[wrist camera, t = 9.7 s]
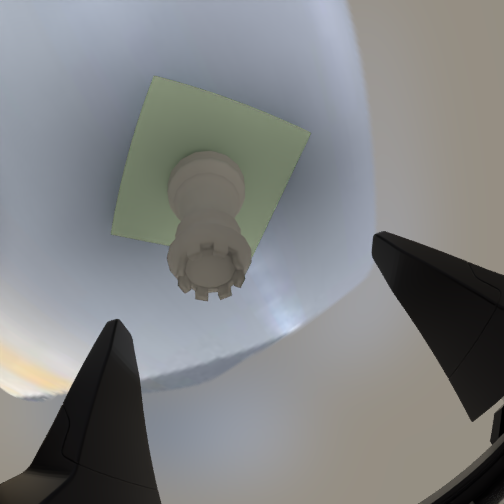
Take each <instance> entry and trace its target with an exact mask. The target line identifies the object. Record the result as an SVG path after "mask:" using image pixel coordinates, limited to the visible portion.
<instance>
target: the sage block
mask: <svg viewBox="0 0 504 504" xmlns="http://www.w3.org/2000/svg"><path fill="white" fill-rule="evenodd" d="M310 134H311V133H310V132H308V131H306V130H304V129H302V128H300V127H298V126H295V125H293V124H291V123H289V122H287V121H284V120H282V119H280V118H277V117H275V116H273V115H270V114H268V113H265V112H263V111H261V110H258V109H256V108H253V107H251V106H248V105H245V104H243V103H240V102H237V101H235V100H232V99H229V98H226V97H223V96H221V95H218V94H215V93H212V92H209V91H206V90H203V89H199V88H196V87H193V86H190V85H186V84H183V83H180V82H176V81H172V80H169V79H165V78H161V77H157V76H154V77H153V79H152V82H151V85H150V87H149V90H148V93H147V95H146V98H145V101H144V104H143V107H142V110H141V113H140V116H139V119H138V122H137V125H136V128H135V132H134V135H133V138H132V142H131V145H130V149H129V153H128V156H127V160H126V164H125V168H124V172H123V176H122V180H121V184H120V189H119V193H118V198H117V203H116V208H115V213H114V218H113V224H112V230H111V235H116V236H121V237H126V238H131V239H136V240H141V241H146V242H151V243H157V244H162V245H167V246H170V244H171V243H172V242H173V241H174V240H175V239H176V238H175V234H176V230H177V227H178V224H179V223H180V222H181V221H180V220H179V219H178V218H177V217H176V215H175V214H174V212H173V211H172V209H171V208H170V205H169V200H168V194H167V190H168V181H169V178H170V174H171V171H172V170H173V169H174V167H175V166H176V165H177V164H178V163H179V161H180V160H181V159H183V158H185V157H187V156H189V155H191V154H193V153H195V152H203V151H214V152H217V153H221V154H224V155H227V156H228V157H229V158H230V159H232V160H233V161H234V162H235V163H236V164H238V166H239V168H240V170H241V172H242V174H243V176H244V183H245V200H244V202H243V205H242V207H241V209H240V212H239V213H238V214H237V215H236V217H235V218H234V219H235V220H236V222H237V223H238V225H239V227H240V229H241V235H242V236H244V237H245V239H246V241H247V242H248V244H249V246H250V248H251V258H252V256H253V254H254V252H255V250H256V248H257V246H258V244H259V242H260V240H261V238H262V235H263V233H264V231H265V229H266V227H267V225H268V223H269V221H270V219H271V217H272V214H273V212H274V210H275V208H276V206H277V204H278V202H279V200H280V198H281V196H282V193H283V191H284V189H285V187H286V185H287V183H288V181H289V179H290V177H291V174H292V172H293V170H294V168H295V166H296V164H297V162H298V160H299V158H300V156H301V153H302V151H303V149H304V147H305V145H306V143H307V141H308V139H309V137H310Z"/></svg>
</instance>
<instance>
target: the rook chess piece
mask: <svg viewBox="0 0 504 504" xmlns="http://www.w3.org/2000/svg"><path fill="white" fill-rule="evenodd" d="M167 194H168V200H169V205H170V208H171V209H172V211H173V212H174V214H175V215H176V217H177V218H178V219H179V220H180V221H181V222H180V223H179V224H178V227H177V230H176V234H175V238H176V239H175V240H174V241H173V242H172V243H171V244H170V247H169V251H168V255H167V261H168V265H169V269H170V271H171V272H172V274H173V275H174V276H175V277H176V278H177V280H178V286H179V287H180V289H181V290H182V291H183V292H184V293H187V292H188V291H190V290H191V289H193V290H195V299H197V300H203V301H208V293H211V292H218V296H219V298H220V300H222V299H224V298H227V297H229V296H232V293H231V286H232V285H234V286H236V287H239V288H241V286H242V284H243V282H244V280H245V274H246V272H247V270H248V268H249V266H250V264H251V248H250V246H249V244H248V242H247V241H246V239H245V237H244V236H242V235H241V229H240V227H239V225H238V223H237V222H236V220H235V219H234V218H235V217H236V215H237V214H238V213H239V212H240V209H241V207H242V205H243V202H244V200H245V183H244V176H243V174H242V172H241V170H240V168H239V166H238V164H236V163H235V162H234V161H233V160H232V159H230V158H229V157H228V156H227V155H224V154H221V153H217V152H214V151H203V152H195V153H193V154H191V155H189V156H187V157H185V158H183V159H181V160H180V161H179V163H178V164H177V165H176V166H175V167H174V169H173V170H172V171H171V174H170V178H169V181H168V190H167Z"/></svg>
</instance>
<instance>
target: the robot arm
mask: <svg viewBox="0 0 504 504" xmlns="http://www.w3.org/2000/svg"><path fill="white" fill-rule="evenodd" d="M372 257H373V259H374V261H375V263H376V264H377V266H378V268H379V269H380V271H381V273H382V275H383V276H384V278H385V280H386V282H387V283H388V285H389V287H390V288H391V290H392V292H393V293H394V295H395V296H396V297H397V299H398V300H399V302H400V303H401V305H402V306H403V307H404V309H405V311H406V312H407V313H408V315H409V316H410V318H411V319H412V321H413V322H414V324H415V325H416V327H417V328H418V330H419V331H420V333H421V334H422V336H423V338H424V339H425V341H426V342H427V344H428V346H429V347H430V349H431V350H432V352H433V354H434V355H435V357H436V359H437V360H438V362H439V364H440V365H441V367H442V369H443V370H444V372H445V374H446V375H447V377H448V378H449V381H450V383H451V384H452V386H453V388H454V390H455V392H456V393H457V395H458V397H459V399H460V401H461V403H462V404H463V406H464V408H465V410H466V412H467V414H468V416H469V418H470V420H471V421H472V422H473V421H474V420H476V419H477V418H478V417H479V416H481V415H482V414H483V413H485V412H486V411H487V410H488V409H490V408H491V407H492V406H493V405H494V404H496V403H497V402H498V401H499V400H500V399H502V400H503V402H504V275H502V274H498V273H496V272H493V271H490V270H487V269H485V268H482V267H480V266H477V265H474V264H472V263H470V262H467V261H465V260H462V259H460V258H457V257H454V256H452V255H449V254H447V253H444V252H442V251H439V250H436V249H434V248H431V247H428V246H425V245H423V244H420V243H417V242H414V241H412V240H409V239H406V238H403V237H400V236H397V235H394V234H391V233H388V232H386V231H382V232H379V233H376V234H375V235H374V236H373V244H372ZM490 442H491V444H492V446H491V447H490V448H489V449H488V450H487V451H486V452H484V453H483V454H482V455H481V456H480V457H479V458H478V459H477V460H476V461H474V462H473V463H472V464H471V465H470V466H469V467H468V468H466V469H465V470H464V471H463V472H461V473H460V474H459V475H458V476H456V477H455V478H454V479H453V480H451V481H450V482H449V483H447V484H446V485H445V486H443V487H442V488H441V489H439V490H438V491H436V492H435V493H434V494H432V495H431V496H429V497H428V498H426V499H425V500H423V501H422V502H420V503H419V504H504V404H503V405H502V406H501V407H500V408H499V409H498V410H497V411H496V412H495V414H494V420H493V427H492V433H491V439H490ZM0 504H161V501H160V497H159V492H158V490H157V484H156V480H155V475H154V471H153V466H152V461H151V456H150V450H149V445H148V439H147V432H146V426H145V419H144V411H143V403H142V394H141V385H140V377H139V372H138V367H137V362H136V356H135V351H134V345H133V339H132V336H131V334H130V333H129V331H128V330H127V329H126V327H125V326H124V325H123V323H122V322H121V321H120V320H119V319H115V320H111V321H108V322H107V323H106V325H105V327H104V328H103V330H102V332H101V333H100V335H99V337H98V338H97V340H96V342H95V344H94V345H93V347H92V349H91V351H90V353H89V354H88V356H87V358H86V360H85V362H84V363H83V365H82V367H81V369H80V371H79V373H78V374H77V376H76V378H75V380H74V382H73V384H72V386H71V388H70V390H69V392H68V394H67V396H66V398H65V400H64V402H63V405H62V406H61V408H60V410H59V412H58V414H57V416H56V418H55V420H54V422H53V424H52V426H51V428H50V430H49V432H48V434H47V435H46V438H45V439H44V441H43V443H42V445H41V447H40V448H39V450H38V452H37V454H36V456H35V458H34V460H33V462H32V463H31V465H30V466H29V467H28V468H27V469H26V470H25V471H24V472H23V473H21V474H19V475H17V476H15V477H13V478H11V479H9V480H7V481H5V482H3V483H1V484H0Z"/></svg>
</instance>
